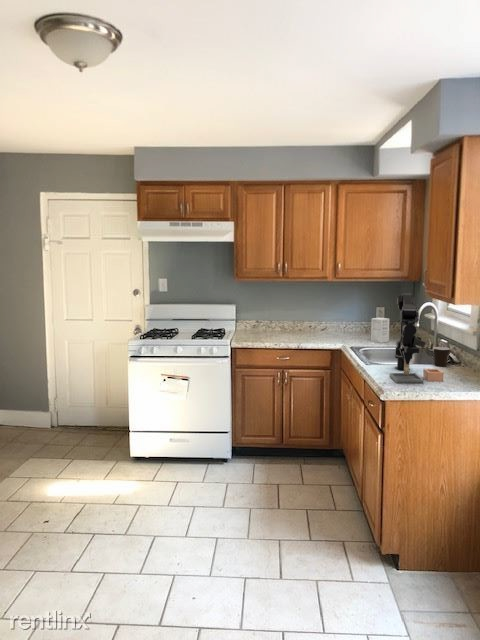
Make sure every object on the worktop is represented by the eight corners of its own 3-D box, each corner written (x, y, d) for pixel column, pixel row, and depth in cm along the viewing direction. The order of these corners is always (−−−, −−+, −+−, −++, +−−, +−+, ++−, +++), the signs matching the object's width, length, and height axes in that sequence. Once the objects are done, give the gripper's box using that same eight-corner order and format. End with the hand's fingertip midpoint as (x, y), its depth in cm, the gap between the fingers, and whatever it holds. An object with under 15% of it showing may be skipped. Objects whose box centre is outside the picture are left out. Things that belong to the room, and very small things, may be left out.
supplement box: (389, 341, 354) (390, 318, 352) (381, 343, 348) (382, 319, 346) (378, 339, 362) (378, 317, 359) (370, 341, 356) (371, 318, 354)
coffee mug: (443, 368, 272) (444, 350, 271) (429, 365, 279) (430, 348, 278) (454, 365, 279) (455, 348, 278) (441, 362, 286) (441, 345, 284)
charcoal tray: (389, 376, 253) (389, 372, 253) (415, 377, 253) (415, 373, 252) (396, 383, 240) (396, 379, 240) (423, 383, 240) (423, 379, 240)
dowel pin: (403, 374, 248) (403, 357, 246) (407, 374, 247) (408, 357, 246) (404, 376, 245) (405, 358, 244) (409, 376, 245) (410, 358, 244)
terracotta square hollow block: (423, 377, 252) (423, 368, 251) (437, 377, 251) (438, 369, 251) (427, 381, 244) (428, 372, 244) (443, 381, 244) (443, 372, 244)
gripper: (431, 336, 234) (429, 368, 236) (418, 330, 252) (417, 359, 254) (407, 335, 234) (405, 368, 236) (396, 329, 253) (395, 359, 255)
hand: (406, 363), depth 246 cm, fingers closed on dowel pin, 2 cm apart
